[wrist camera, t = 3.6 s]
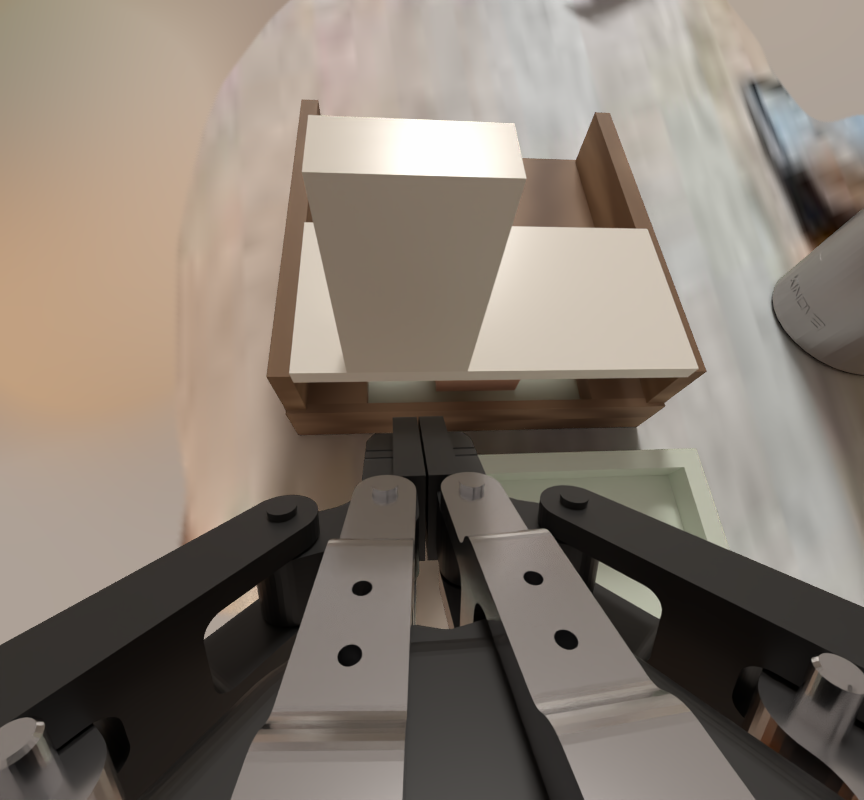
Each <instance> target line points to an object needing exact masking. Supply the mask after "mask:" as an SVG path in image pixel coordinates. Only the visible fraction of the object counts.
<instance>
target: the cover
mask: <svg viewBox="0 0 864 800" xmlns="http://www.w3.org/2000/svg"><path fill="white" fill-rule="evenodd" d="M302 175H303V180H304V184H305V188H306V193H307V197H308V202H309V206H310V211H311V215H312V220H313V222H304V232H303V241H302V251H301V261H300V271H299V281H298V291H297V300H296V310H295V320H294V330H293V340H292V350H291V359H290V369H289V374H290V376H291V379H292V381H293V383H302V382H375V381H449V380H522V379H595V378H669V377H689V376H690V375H691V374H692V373H694V372H695V371H696V370H698V369H699V368H698V365H697V362H696V360H695V357H694V354H693V351H692V349H691V346H690V343H689V340H688V338H687V335H686V332H685V330H684V327H683V324H682V321H681V319H680V316H679V313H678V311H677V308H676V305H675V302H674V300H673V297H672V294H671V291H670V289H669V286H668V283H667V281H666V278H665V275H664V272H663V270H662V267H661V264H660V262H659V259H658V256H657V253H656V251H655V248H654V245H653V242H652V240H651V237H650V234H649V232H648V229H629V228H576V227H524V226H512V224H513V221H514V218H515V214H516V211H517V208H518V205H519V201H520V198H521V195H522V191H523V188H524V185H525V182H526V174H525V170H524V165H523V160H522V156H521V151H520V147H519V142H518V137H517V133H516V128H515V124H514V123H492V122H468V121H444V120H419V119H395V118H370V117H346V116H322V115H308V122H307V130H306V139H305V148H304V157H303V166H302Z"/></svg>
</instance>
